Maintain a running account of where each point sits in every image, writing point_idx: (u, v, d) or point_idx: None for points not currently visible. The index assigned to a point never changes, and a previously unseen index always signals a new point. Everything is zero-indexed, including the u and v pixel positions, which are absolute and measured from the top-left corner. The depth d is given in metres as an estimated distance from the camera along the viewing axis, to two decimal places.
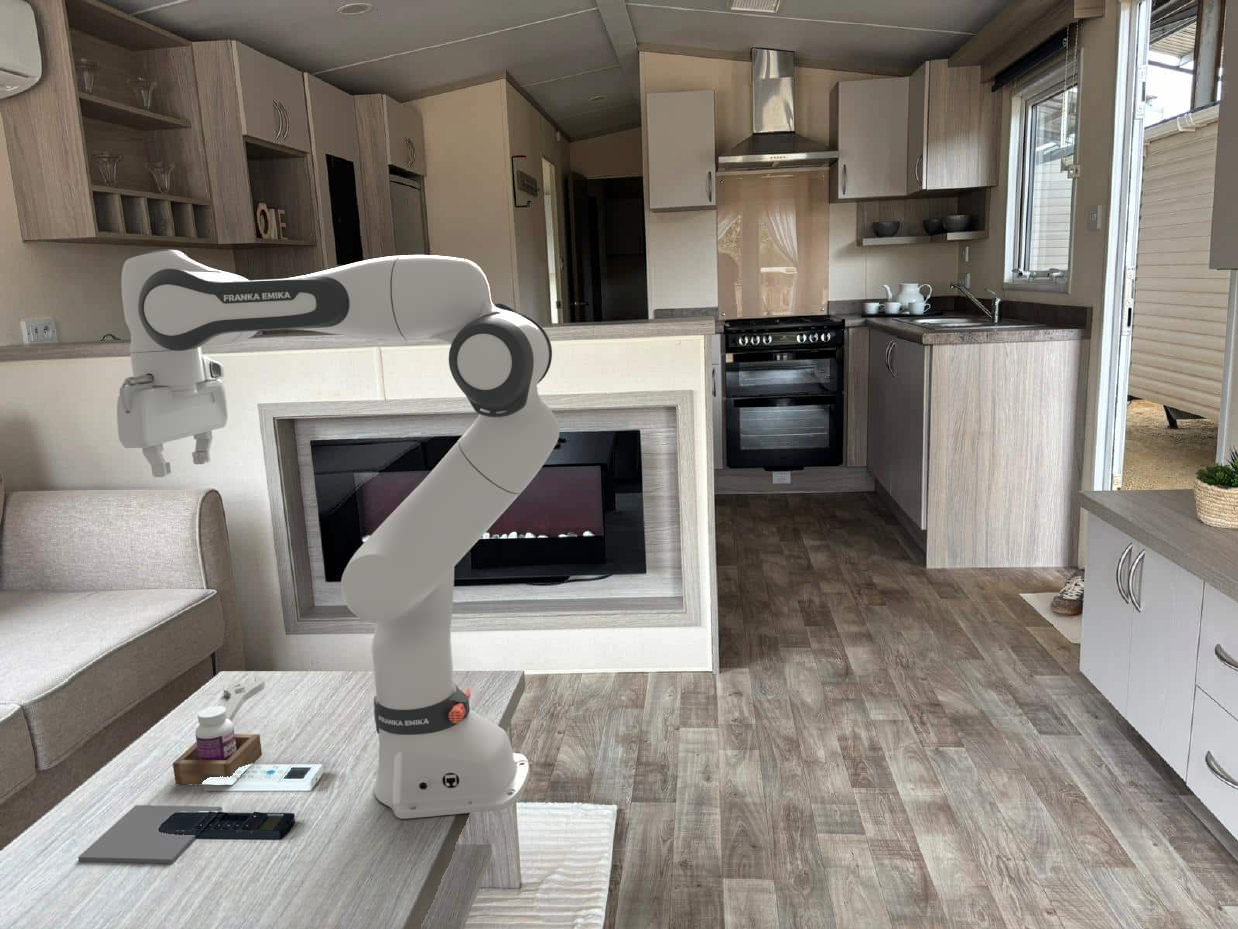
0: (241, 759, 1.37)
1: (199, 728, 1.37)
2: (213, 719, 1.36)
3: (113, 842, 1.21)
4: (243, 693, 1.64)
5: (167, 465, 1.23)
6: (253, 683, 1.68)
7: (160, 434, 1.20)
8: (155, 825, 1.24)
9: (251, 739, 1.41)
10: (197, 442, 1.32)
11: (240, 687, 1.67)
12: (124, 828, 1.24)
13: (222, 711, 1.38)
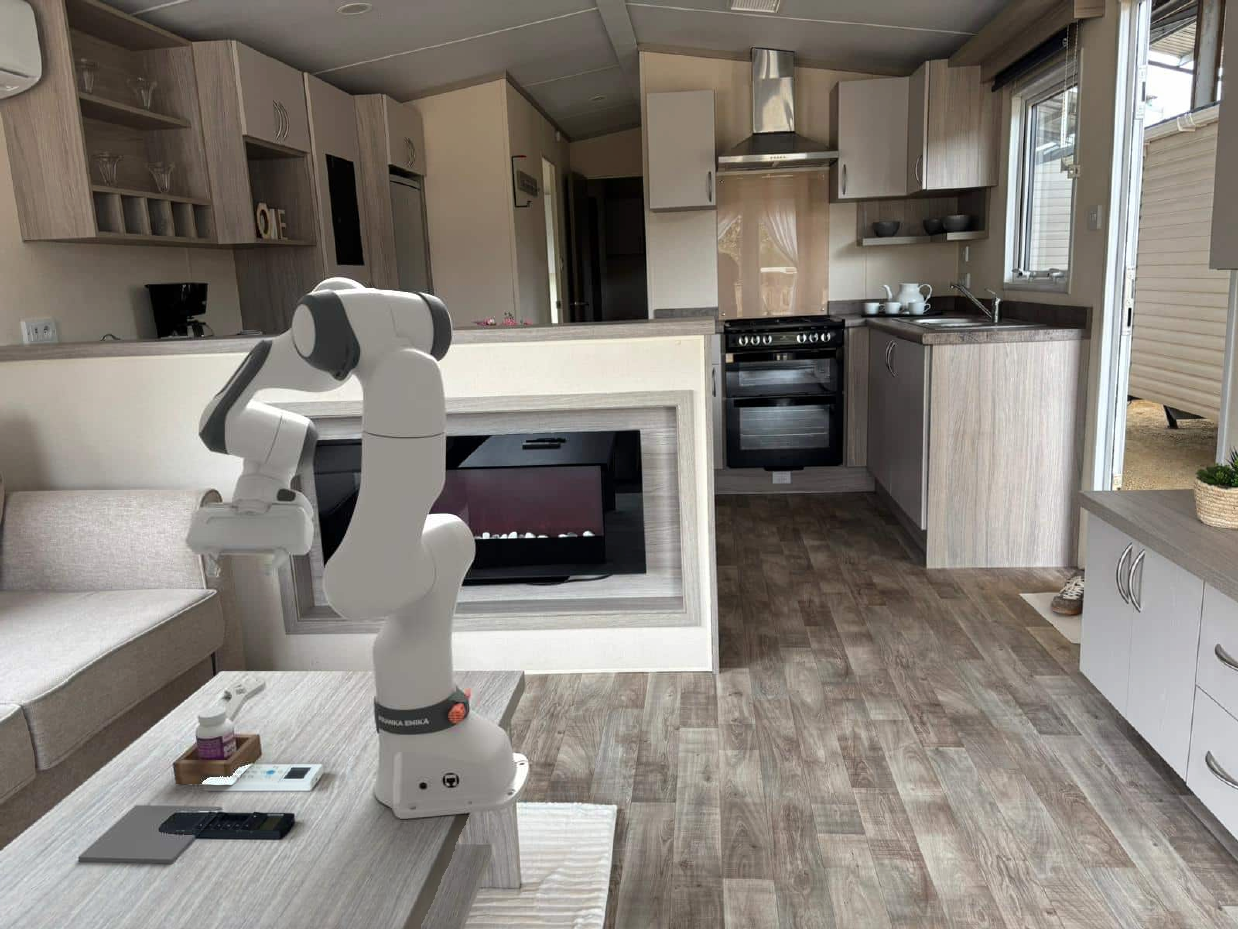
0: (241, 759, 1.37)
1: (199, 728, 1.37)
2: (213, 719, 1.36)
3: (113, 842, 1.21)
4: (244, 694, 1.64)
5: (212, 565, 1.48)
6: (254, 684, 1.68)
7: (206, 538, 1.50)
8: (155, 825, 1.24)
9: (251, 739, 1.41)
10: None
11: (241, 688, 1.66)
12: (124, 828, 1.24)
13: (222, 711, 1.38)
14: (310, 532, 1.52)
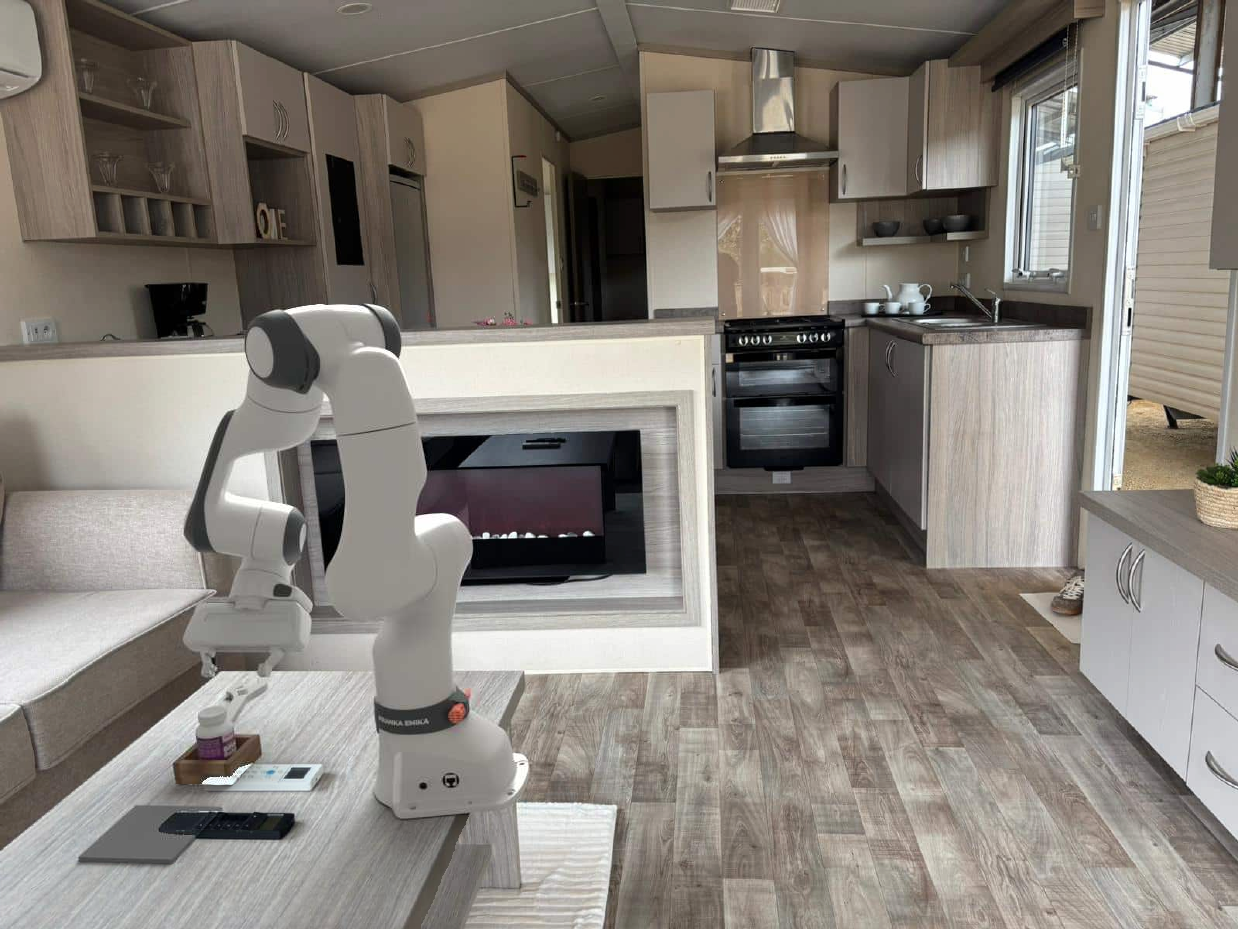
0: (241, 759, 1.37)
1: (199, 728, 1.37)
2: (213, 719, 1.36)
3: (113, 842, 1.21)
4: (246, 695, 1.63)
5: (208, 665, 1.45)
6: (256, 685, 1.67)
7: (202, 636, 1.47)
8: (155, 825, 1.24)
9: (251, 739, 1.41)
10: None
11: (243, 689, 1.66)
12: (124, 828, 1.24)
13: (222, 711, 1.38)
14: (307, 628, 1.48)
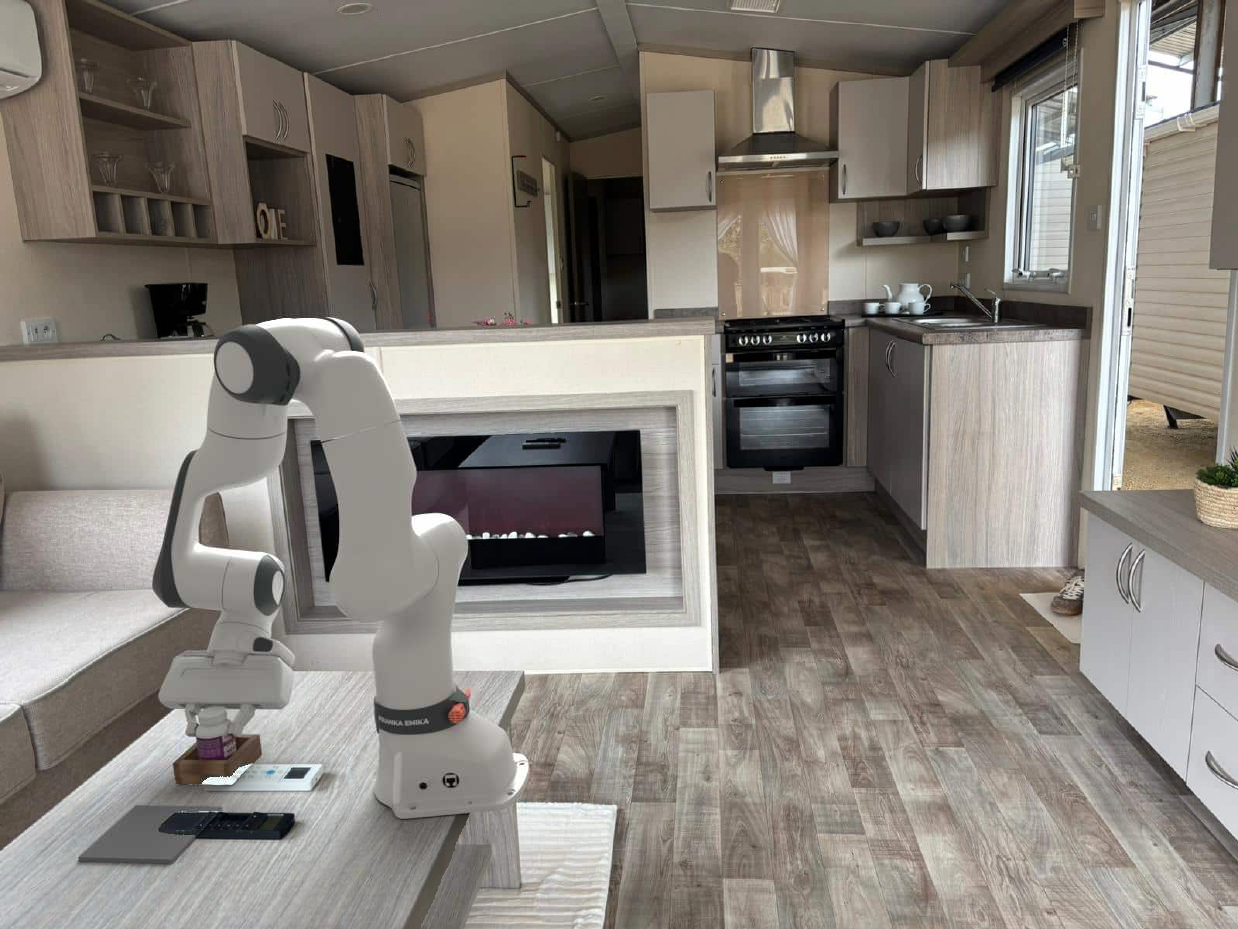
0: (241, 759, 1.37)
1: (199, 728, 1.37)
2: (213, 719, 1.36)
3: (113, 842, 1.21)
4: None
5: (192, 724, 1.38)
6: None
7: (178, 694, 1.40)
8: (155, 825, 1.24)
9: (251, 739, 1.41)
10: None
11: None
12: (124, 828, 1.24)
13: (222, 711, 1.38)
14: (288, 684, 1.42)
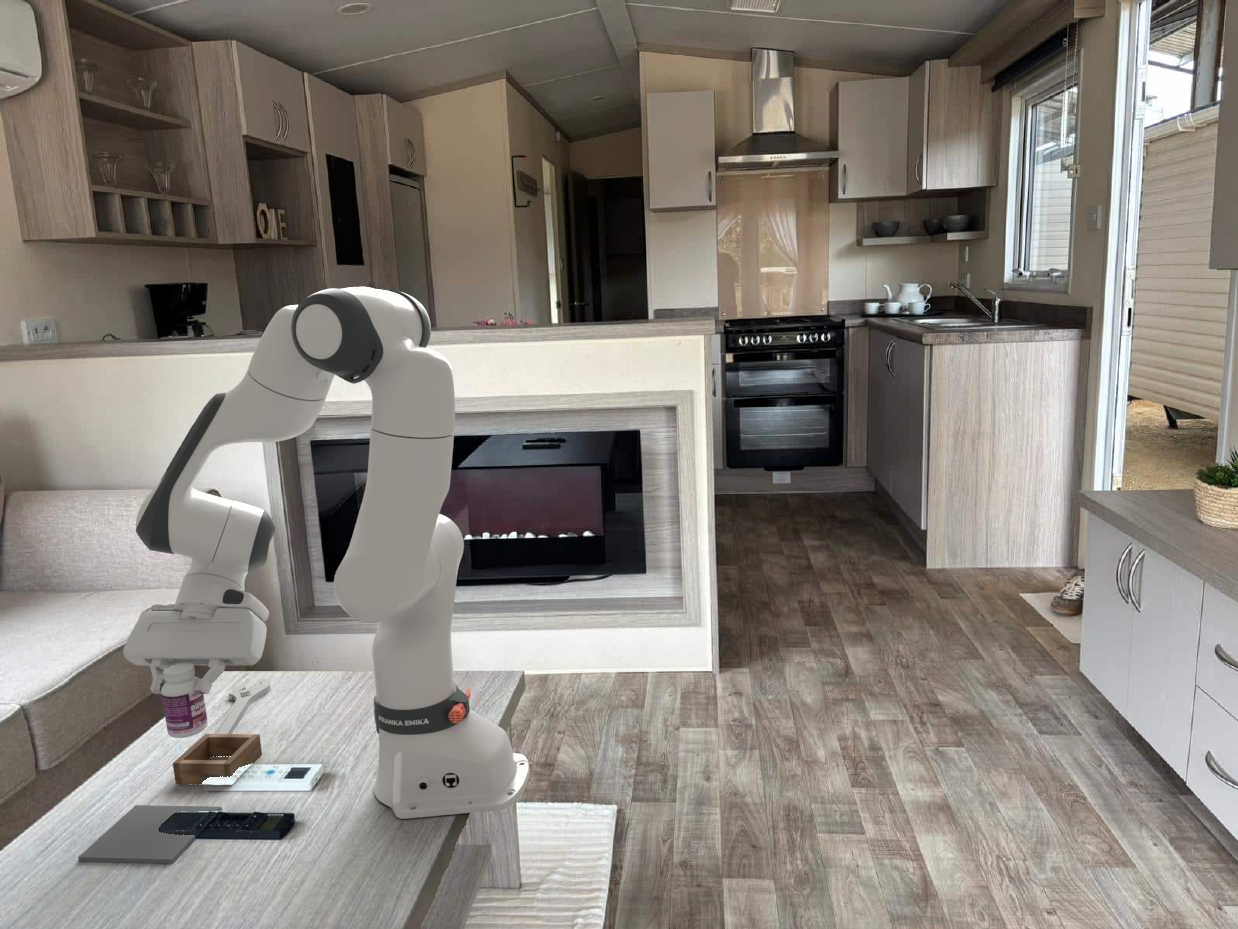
0: (241, 759, 1.37)
1: (165, 686, 1.29)
2: (179, 676, 1.28)
3: (113, 842, 1.21)
4: (249, 697, 1.62)
5: (158, 680, 1.30)
6: (259, 686, 1.66)
7: (144, 649, 1.32)
8: (155, 825, 1.24)
9: (251, 739, 1.41)
10: None
11: (246, 690, 1.65)
12: (124, 828, 1.24)
13: (189, 667, 1.30)
14: (260, 638, 1.33)
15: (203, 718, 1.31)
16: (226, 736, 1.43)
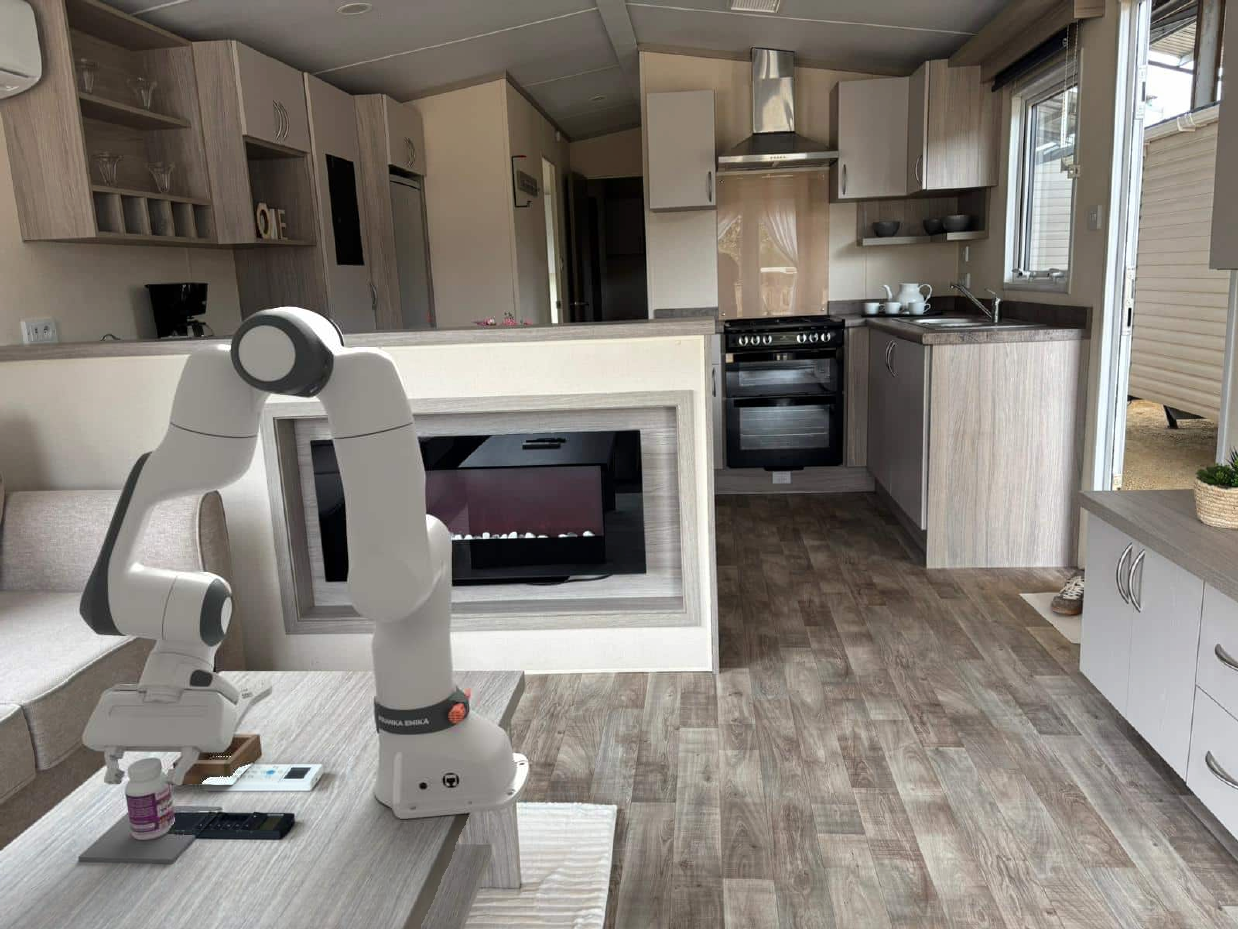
0: (241, 759, 1.37)
1: (129, 784, 1.20)
2: (145, 774, 1.20)
3: (113, 842, 1.21)
4: (250, 698, 1.62)
5: (112, 770, 1.22)
6: (260, 688, 1.66)
7: (105, 735, 1.24)
8: None
9: (251, 739, 1.41)
10: None
11: (247, 692, 1.64)
12: (124, 828, 1.24)
13: (156, 764, 1.21)
14: (230, 723, 1.25)
15: (170, 817, 1.22)
16: None
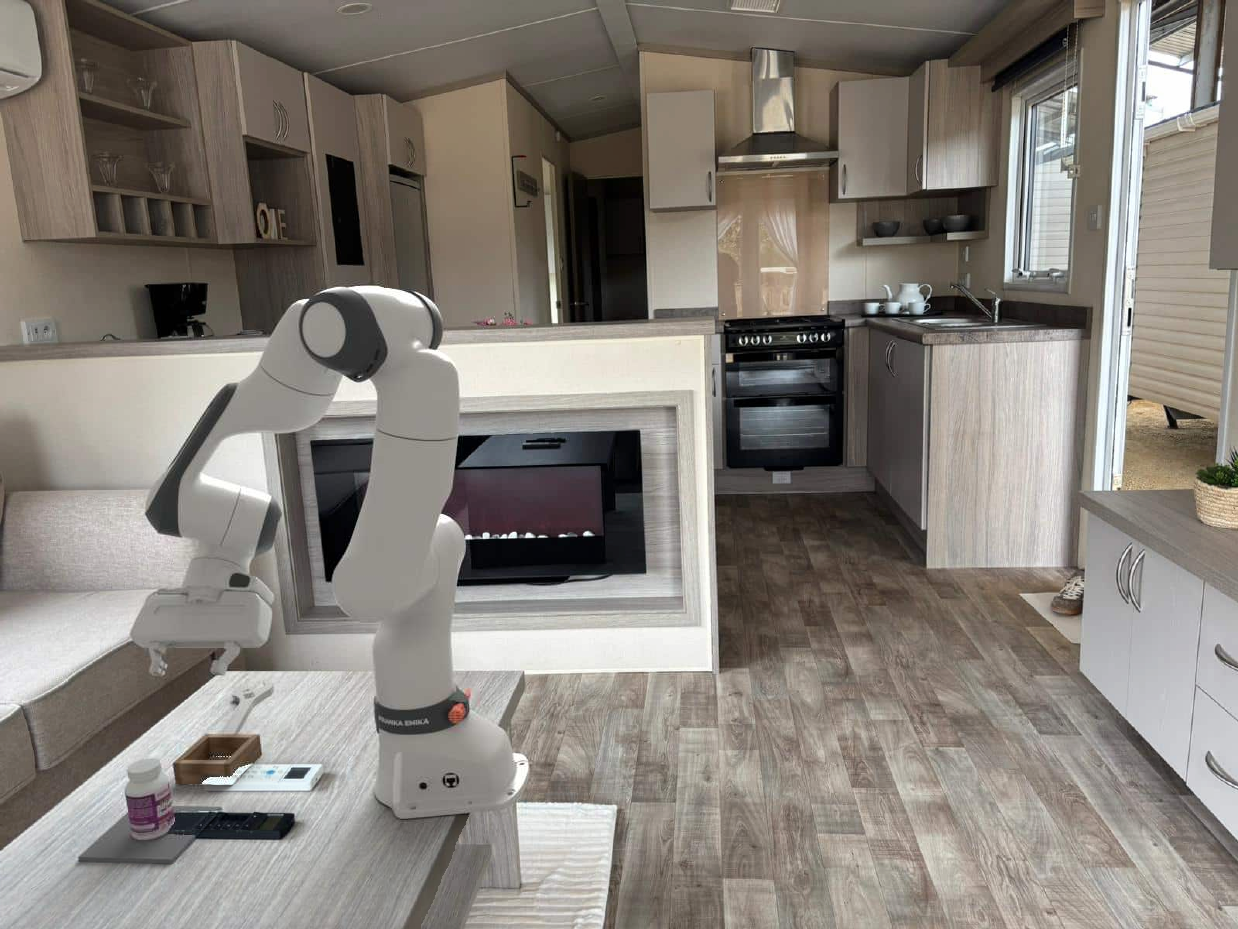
0: (241, 759, 1.37)
1: (129, 784, 1.20)
2: (144, 775, 1.20)
3: (113, 842, 1.21)
4: (252, 698, 1.62)
5: (157, 662, 1.32)
6: (262, 688, 1.66)
7: (151, 631, 1.34)
8: None
9: (251, 739, 1.41)
10: None
11: (249, 692, 1.64)
12: (124, 828, 1.24)
13: (155, 764, 1.21)
14: (266, 621, 1.35)
15: (170, 818, 1.22)
16: (226, 736, 1.43)
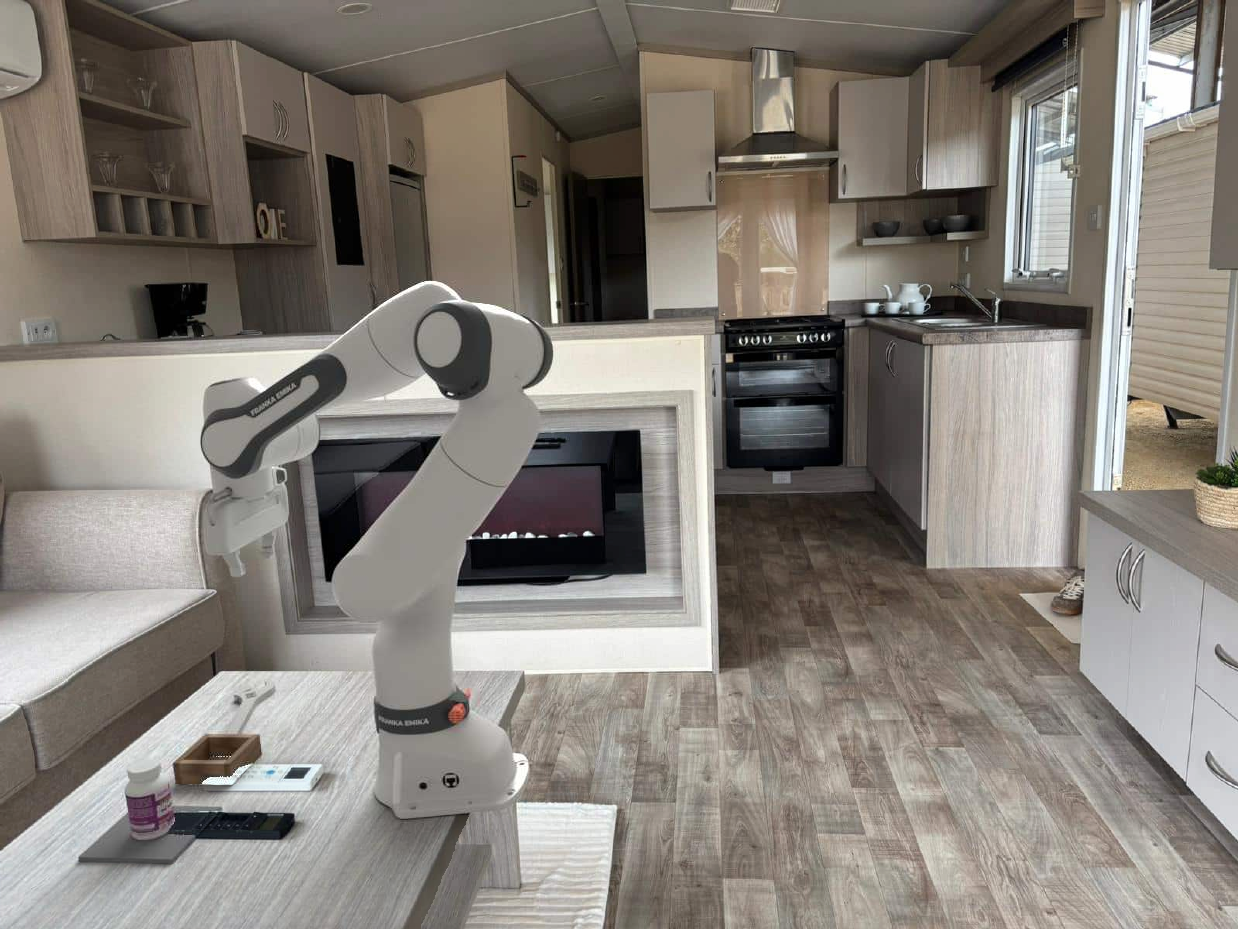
0: (241, 759, 1.37)
1: (129, 784, 1.20)
2: (144, 775, 1.20)
3: (113, 842, 1.21)
4: (255, 698, 1.62)
5: (243, 566, 1.40)
6: (264, 687, 1.66)
7: (238, 541, 1.37)
8: None
9: (251, 739, 1.41)
10: (263, 538, 1.49)
11: (251, 692, 1.64)
12: (124, 828, 1.24)
13: (155, 764, 1.21)
14: None
15: (170, 818, 1.22)
16: (226, 736, 1.43)
